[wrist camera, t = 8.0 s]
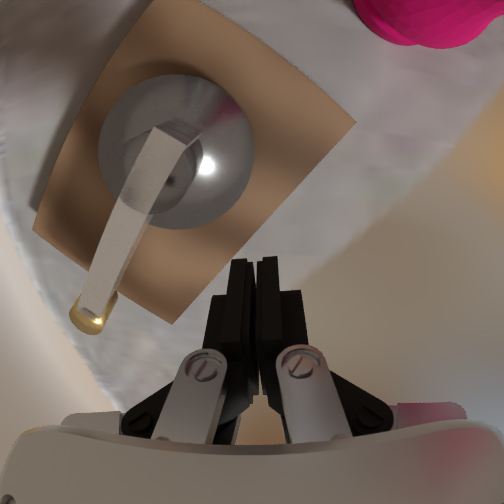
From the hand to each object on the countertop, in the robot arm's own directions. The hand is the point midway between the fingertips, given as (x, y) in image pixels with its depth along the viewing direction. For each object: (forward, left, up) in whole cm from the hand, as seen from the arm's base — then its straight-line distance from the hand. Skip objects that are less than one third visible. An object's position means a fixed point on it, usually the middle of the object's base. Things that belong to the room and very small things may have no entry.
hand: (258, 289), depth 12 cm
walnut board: (+2, -6, -10) cm, 12 cm away
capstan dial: (+4, -6, -8) cm, 11 cm away
